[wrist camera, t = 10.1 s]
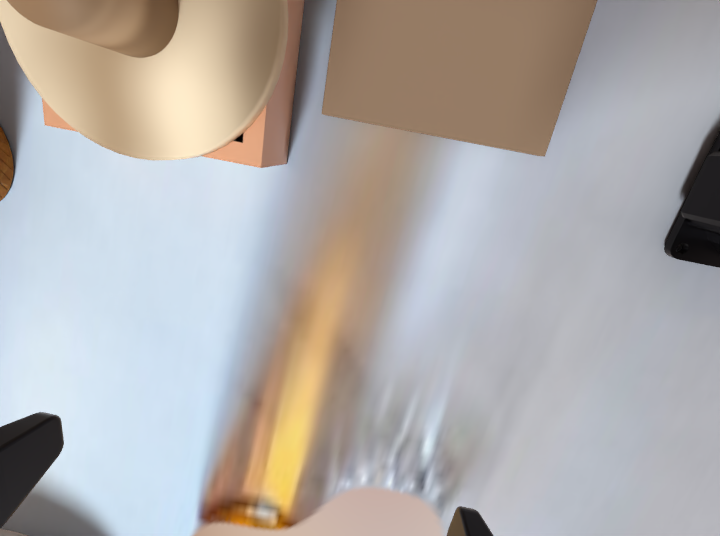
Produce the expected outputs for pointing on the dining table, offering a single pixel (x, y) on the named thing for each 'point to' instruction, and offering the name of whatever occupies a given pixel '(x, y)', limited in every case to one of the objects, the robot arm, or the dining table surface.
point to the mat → (457, 67)
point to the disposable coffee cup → (5, 165)
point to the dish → (272, 127)
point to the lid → (151, 68)
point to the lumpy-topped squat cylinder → (10, 533)
